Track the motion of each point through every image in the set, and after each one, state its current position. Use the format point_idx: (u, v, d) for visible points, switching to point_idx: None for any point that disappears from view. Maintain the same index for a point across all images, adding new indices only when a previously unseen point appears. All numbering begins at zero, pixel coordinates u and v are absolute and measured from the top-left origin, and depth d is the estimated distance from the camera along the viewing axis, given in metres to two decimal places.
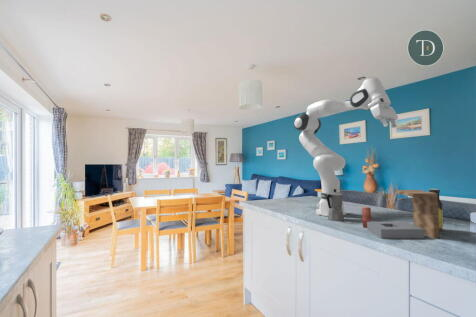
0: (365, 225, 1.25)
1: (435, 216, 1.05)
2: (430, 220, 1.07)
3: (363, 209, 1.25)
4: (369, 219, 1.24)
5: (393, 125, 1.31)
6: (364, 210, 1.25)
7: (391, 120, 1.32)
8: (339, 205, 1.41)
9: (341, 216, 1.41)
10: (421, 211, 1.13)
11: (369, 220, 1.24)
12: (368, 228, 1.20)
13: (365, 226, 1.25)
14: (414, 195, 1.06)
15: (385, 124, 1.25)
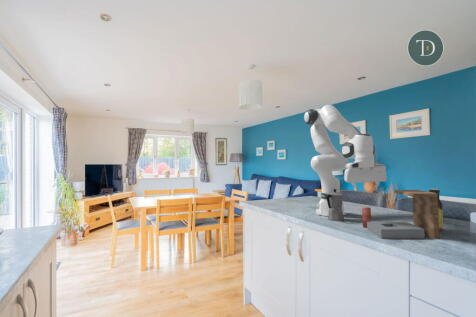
0: (365, 225, 1.25)
1: (435, 216, 1.05)
2: (430, 220, 1.07)
3: (363, 209, 1.25)
4: (369, 219, 1.24)
5: (374, 188, 1.26)
6: (364, 210, 1.25)
7: (375, 182, 1.26)
8: (339, 205, 1.41)
9: (341, 216, 1.41)
10: (421, 211, 1.13)
11: (369, 220, 1.24)
12: (368, 228, 1.20)
13: (365, 226, 1.25)
14: (414, 195, 1.06)
15: (355, 189, 1.26)
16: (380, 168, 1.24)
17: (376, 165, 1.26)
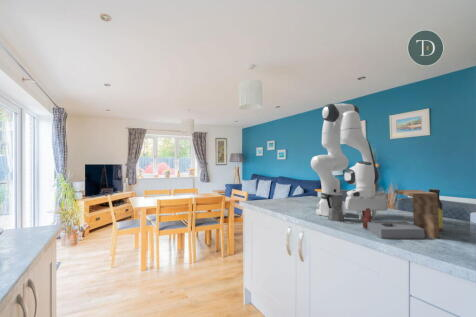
0: (365, 225, 1.25)
1: (435, 216, 1.05)
2: (430, 220, 1.07)
3: None
4: (369, 219, 1.24)
5: None
6: None
7: (372, 210, 1.26)
8: (339, 205, 1.41)
9: (341, 216, 1.41)
10: (421, 211, 1.13)
11: (369, 220, 1.24)
12: (368, 228, 1.20)
13: (365, 226, 1.25)
14: (414, 195, 1.06)
15: (359, 217, 1.26)
16: (381, 197, 1.24)
17: (377, 194, 1.25)
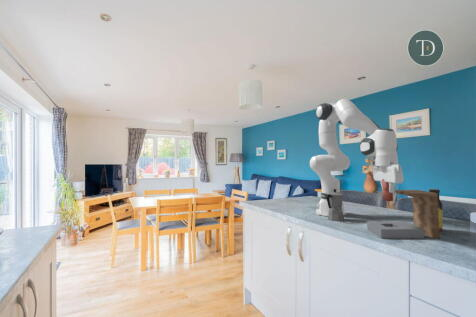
0: None
1: (435, 216, 1.05)
2: (430, 220, 1.07)
3: None
4: (383, 191, 1.14)
5: None
6: None
7: None
8: (339, 205, 1.41)
9: (341, 216, 1.41)
10: (421, 211, 1.13)
11: (384, 192, 1.13)
12: (368, 228, 1.20)
13: None
14: (414, 195, 1.06)
15: None
16: (390, 167, 1.07)
17: (392, 164, 1.09)
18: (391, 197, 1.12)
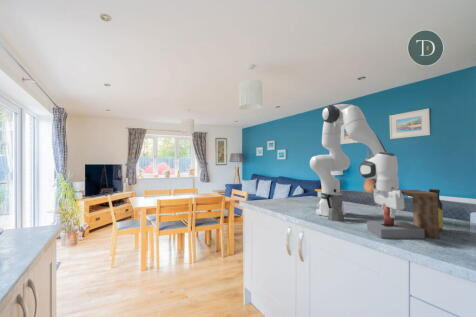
0: None
1: (435, 216, 1.05)
2: (430, 220, 1.07)
3: None
4: (384, 216, 1.13)
5: None
6: None
7: None
8: (339, 205, 1.41)
9: (341, 216, 1.41)
10: (421, 211, 1.13)
11: (385, 216, 1.13)
12: (368, 228, 1.20)
13: None
14: (414, 195, 1.06)
15: None
16: (391, 193, 1.07)
17: (393, 189, 1.08)
18: (392, 222, 1.12)
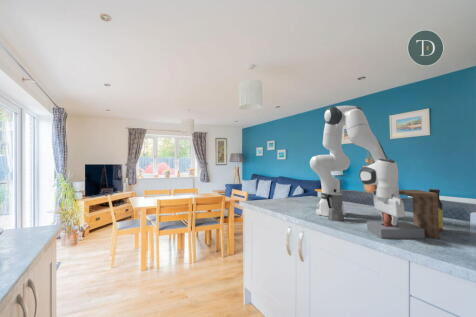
0: None
1: (435, 216, 1.05)
2: (430, 220, 1.07)
3: None
4: (384, 224, 1.13)
5: None
6: None
7: None
8: (339, 205, 1.41)
9: (341, 216, 1.41)
10: (421, 211, 1.13)
11: (385, 225, 1.13)
12: (368, 228, 1.20)
13: None
14: (414, 195, 1.06)
15: None
16: (392, 200, 1.07)
17: (393, 196, 1.08)
18: None
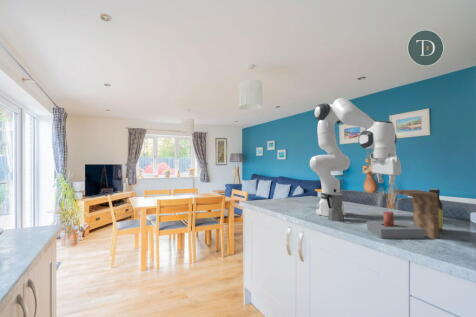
0: None
1: (435, 216, 1.05)
2: (430, 220, 1.07)
3: None
4: (384, 224, 1.13)
5: None
6: None
7: None
8: (339, 205, 1.41)
9: (341, 216, 1.41)
10: (421, 211, 1.13)
11: (385, 225, 1.13)
12: (368, 228, 1.20)
13: None
14: (414, 195, 1.06)
15: None
16: (389, 159, 1.08)
17: (390, 156, 1.09)
18: None
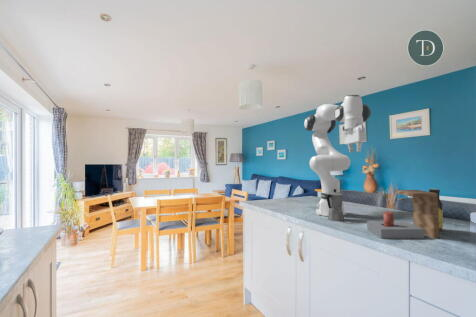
0: None
1: (435, 216, 1.05)
2: (430, 220, 1.07)
3: None
4: (384, 224, 1.13)
5: None
6: None
7: None
8: (339, 205, 1.41)
9: (341, 216, 1.41)
10: (421, 211, 1.13)
11: (385, 225, 1.13)
12: (368, 228, 1.20)
13: None
14: (414, 195, 1.06)
15: None
16: (355, 128, 1.20)
17: (357, 125, 1.21)
18: None
